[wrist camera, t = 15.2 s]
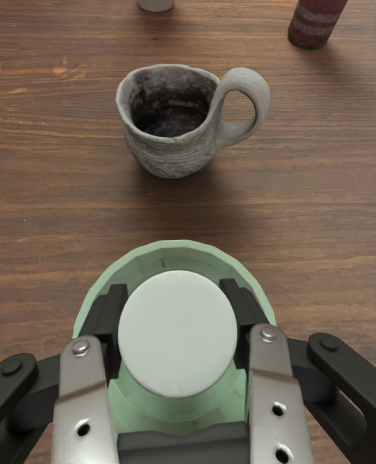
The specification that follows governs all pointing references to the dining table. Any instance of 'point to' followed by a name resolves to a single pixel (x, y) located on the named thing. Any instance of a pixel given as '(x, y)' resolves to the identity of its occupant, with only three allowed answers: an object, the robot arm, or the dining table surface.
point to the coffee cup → (155, 5)
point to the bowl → (125, 388)
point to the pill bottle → (177, 335)
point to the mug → (184, 115)
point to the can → (314, 22)
